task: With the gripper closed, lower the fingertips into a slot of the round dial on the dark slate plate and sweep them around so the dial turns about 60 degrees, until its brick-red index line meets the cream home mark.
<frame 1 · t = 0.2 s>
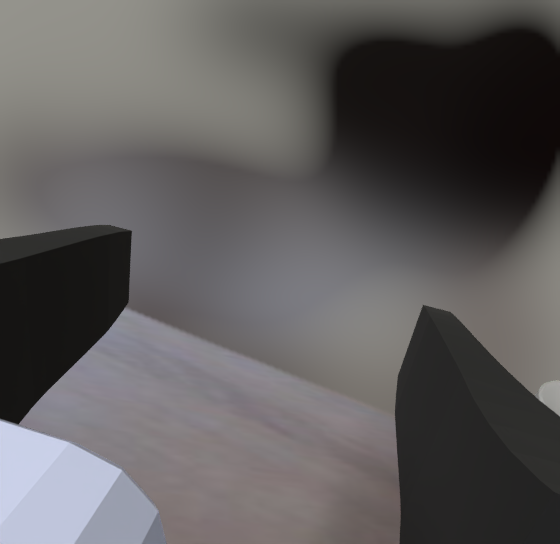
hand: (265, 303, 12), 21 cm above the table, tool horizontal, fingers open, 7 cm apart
canned food: (530, 541, 34), on the table
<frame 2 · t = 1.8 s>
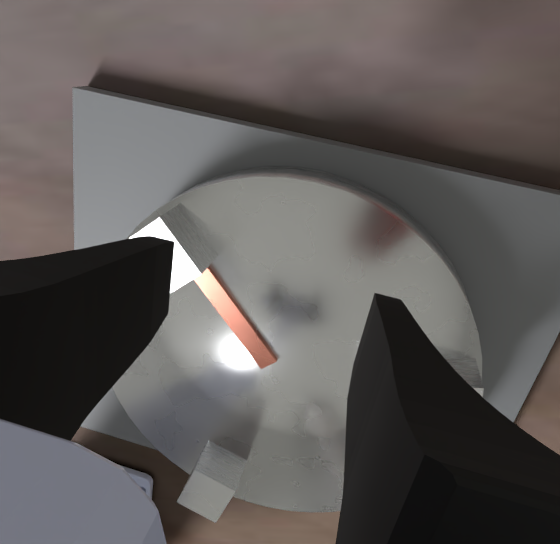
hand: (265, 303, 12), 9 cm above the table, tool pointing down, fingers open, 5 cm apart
slate base plate: (289, 331, 23), on the table
round dial: (275, 368, 20), point 3 cm above the table, hinge at 0.0°
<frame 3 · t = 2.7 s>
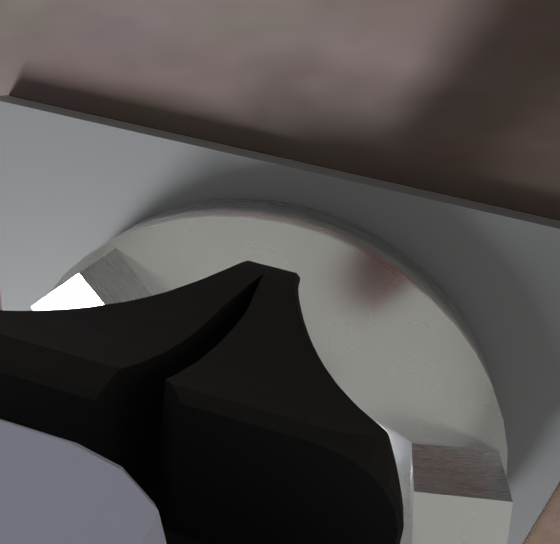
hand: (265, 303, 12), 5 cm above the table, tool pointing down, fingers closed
slate base plate: (266, 392, 19), on the table
round dial: (244, 450, 16), point 3 cm above the table, hinge at 0.0°
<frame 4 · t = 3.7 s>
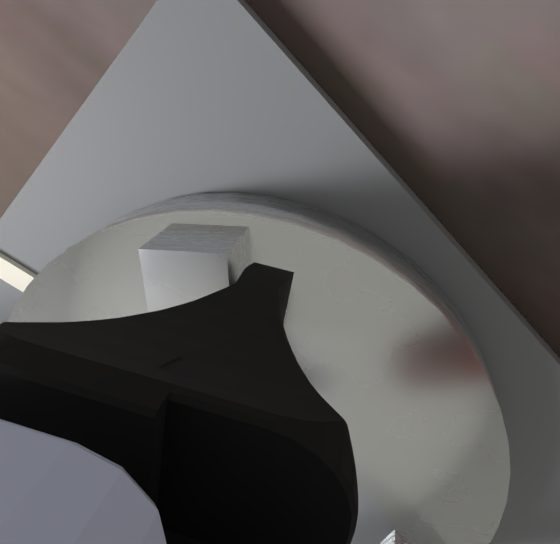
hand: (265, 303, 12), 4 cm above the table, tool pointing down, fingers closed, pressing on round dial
slate base plate: (256, 397, 18), on the table
round dial: (231, 459, 15), point 3 cm above the table, hinge at 1.7°, touching gripper
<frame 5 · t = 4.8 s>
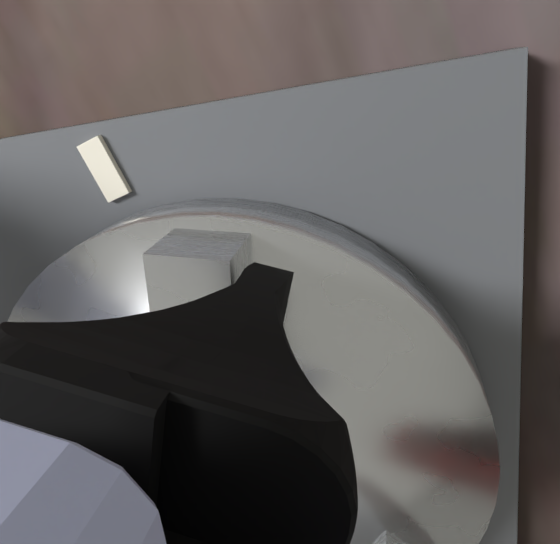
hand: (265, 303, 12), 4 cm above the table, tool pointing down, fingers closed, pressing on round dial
slate base plate: (251, 398, 18), on the table
round dial: (227, 460, 15), point 3 cm above the table, hinge at 35.3°, touching gripper
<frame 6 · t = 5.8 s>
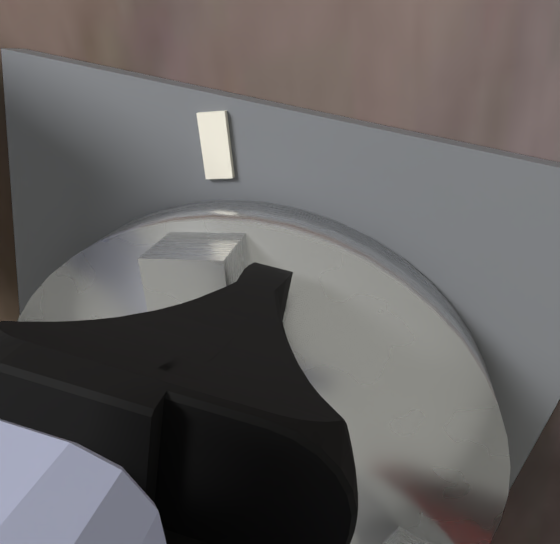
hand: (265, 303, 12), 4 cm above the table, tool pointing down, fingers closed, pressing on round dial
slate base plate: (259, 399, 18), on the table
round dial: (236, 461, 15), point 3 cm above the table, hinge at 58.4°, touching gripper
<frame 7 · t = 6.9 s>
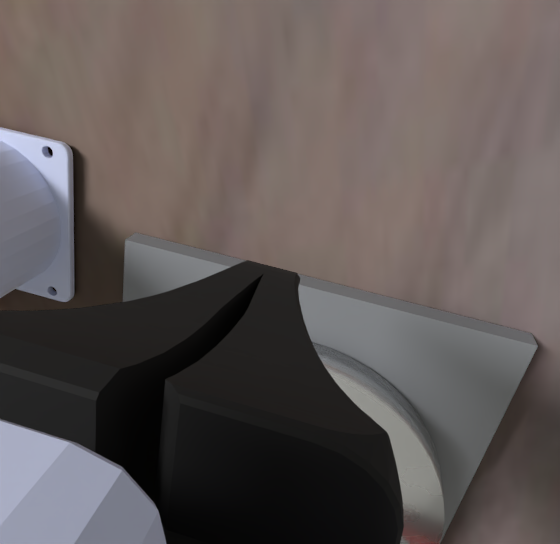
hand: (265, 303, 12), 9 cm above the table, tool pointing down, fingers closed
slate base plate: (282, 451, 26), on the table
round dial: (269, 499, 23), point 3 cm above the table, hinge at 60.7°
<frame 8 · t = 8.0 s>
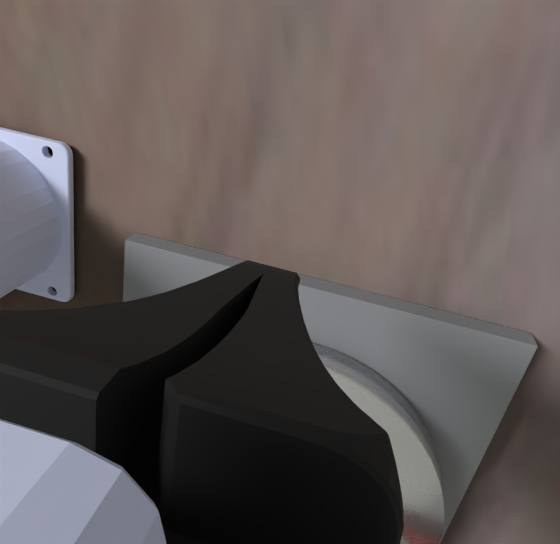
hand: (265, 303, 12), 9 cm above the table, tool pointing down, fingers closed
slate base plate: (282, 451, 26), on the table
round dial: (269, 499, 23), point 3 cm above the table, hinge at 60.7°
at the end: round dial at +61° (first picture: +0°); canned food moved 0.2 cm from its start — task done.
